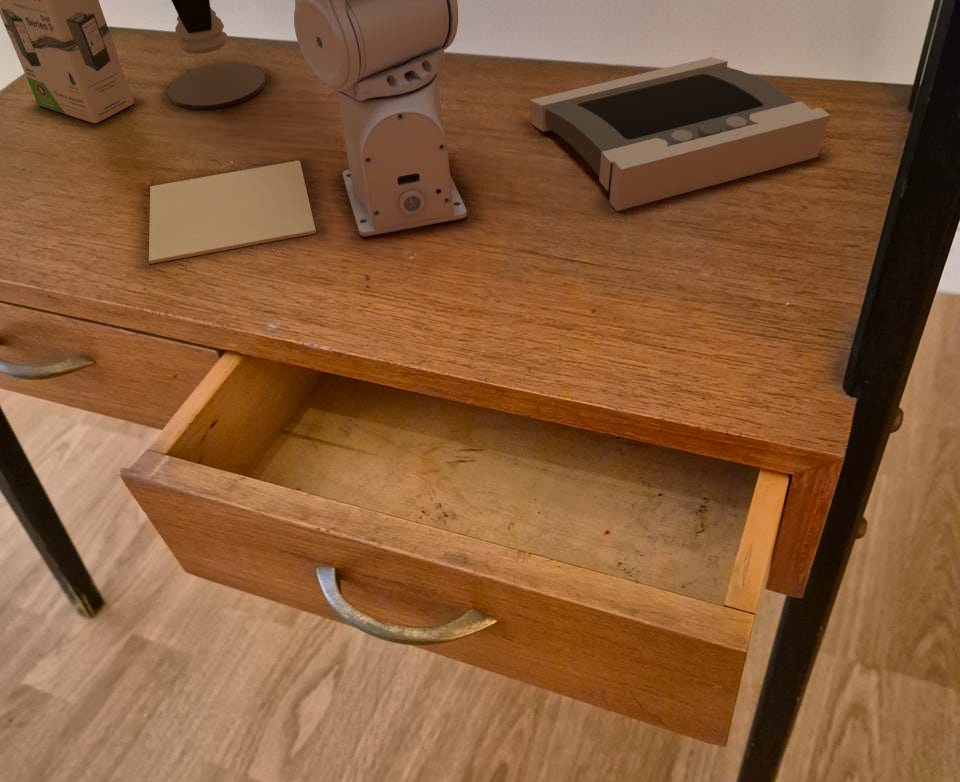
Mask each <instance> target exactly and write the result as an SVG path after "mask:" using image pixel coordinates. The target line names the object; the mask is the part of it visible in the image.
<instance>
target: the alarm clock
mask: <svg viewBox="0 0 960 782" xmlns="http://www.w3.org/2000/svg"><path fill="white" fill-rule="evenodd" d="M728 63H729V61H728V60H724V59H719V58H716V57H712V56H710V57H706V58H702V59H697V60H694V61H689V62H685V63H681V64H677V65H672V66H668V67H664V68H660V69H656V70H651V71H647V72H643V73H638V74H634V75H630V76H625V77H621V78H617V79H613V80H608V81H605V82H600V83H596V84H591V85H586V86H583V87H578V88H575V89H571V90H567V91H562V92H558V93H554V94H549V95H545V96H541V97H537V98H532V99H529V108H530V121H531V125H532V126H533V127H535V128H536V129H538V130H540V131H541V132H542V133H544V132H549V131H552V132H554V133H555V134H556V135H558V136H559V137H560V138H561V139H562V140H564V141H565V142H567V143H568V144H569V145H570V146H571V147H572V148H573V149H574V150H575V151H576V152H577V154H579V155H580V156H581V157H582V158H583V159H584V160H585V162H586V163H587V164H588V165H589V166H590V167H591V169H592V170H593V171H594V172H595V173H596V174H597V176H599V177H598V182H599V183H600V184H601V185H602V186H603V187H604V189H605V190H606V191H607V192H609V199H608V200H609V204H610V205H611V207H612V208H613V209H614V210H615V211H616V212H619V211H623V210H627V209H630V208H634V207H638V206H642V205H645V204H649V203H652V202H656V201H659V200H660V201H661V200H663V199H668V198H671V197H675V196H678V195H683V194H685V193H690V192H693V191H697V190H701V189H704V188H708V187H712V186H716V185H719V184H723V183H727V182H730V181H734V180H738V179H741V178H745V177H749V176H754V175H756V174H760V173H763V172H764V173H765V172H768V171H771V170H775V169H778V168H782V167H786V166H789V165H790V166H791V165H793V164H796V163H801V162H804V161H808V160H813V159H816V158H818V156H819V153H820V150H821V147H822V144H823V141H824V136H825V133H826V130H827V128H828V124H829V120H830V117H831V114H829V113H828V112H827V111H826V110H825V109H823V108H822V107H817V108H811V107H809V106H808V105H807V104H805V103H804V102H803V101H802V100H801V101H796V100H795V99H793V98H792V97H791V96H789V95H788V94H787V93H786V92H784V91H782V90H781V89H779V88H778V87H776V86H775V85H772V84H771V83H769V82H767V81H765V80H764V79H762V78H760V77H758V76H755V75H752V74H750V73H747V72H745V71H743V70H739V69H736V68H732V67H729V66H728V65H729V64H728Z"/></svg>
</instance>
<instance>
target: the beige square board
mask: <svg viewBox="0 0 960 782" xmlns="http://www.w3.org/2000/svg"><path fill="white" fill-rule="evenodd" d="M149 189H150V190H149V227H148V228H149V229H148V232H149V233H148V235H149V236H148V237H149V239H148V262H149V264H150V265H152V264H153V265H154V264H158V263H163V262H168V261H169V262H170V261H173V260H179V259H184V258H185V259H187V258H192V257H197V256H202V255H206V254H207V255H208V254H213V253H217V252H218V253H219V252H223V251H228V250H234V249H238V248H239V249H240V248H245V247H250V246H251V247H252V246H255V245H256V246H257V245H260V244H266V243H272V242H279V241H283V240H289V239H294V238H298V237H299V238H300V237H305V236H310V235H315V234H317V229H316V226H315V221H314V217H313V212H312V208H311V207H312V206H311V203H310V199H309V195H308V190H307V186H306V181H305V177H304V172H303V168H302V163H301V160H294V161H293V160H292V161H287V162H283V163H282V162H281V163H276V164H270V165H265V166H259V167H252V168H247V169H242V170H237V171H236V170H235V171H230V172H224V173H220V174H213V175H207V176H202V177H196V178H191V179H190V178H189V179H184V180H179V181H173V182H167V183H162V184H156V185H151V186H149Z"/></svg>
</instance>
